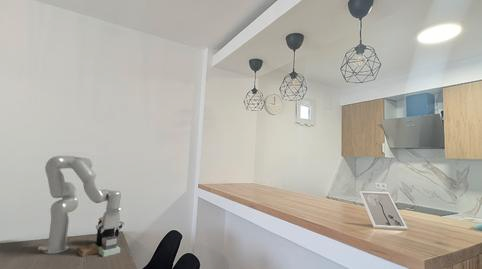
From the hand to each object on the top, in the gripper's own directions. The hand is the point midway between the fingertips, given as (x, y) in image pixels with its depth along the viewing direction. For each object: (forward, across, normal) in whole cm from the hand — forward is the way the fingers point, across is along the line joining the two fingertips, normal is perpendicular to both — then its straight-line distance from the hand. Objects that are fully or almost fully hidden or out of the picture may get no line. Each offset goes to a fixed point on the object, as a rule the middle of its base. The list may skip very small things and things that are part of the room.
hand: (108, 237), depth 163 cm
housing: (+6, -1, +1) cm, 6 cm away
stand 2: (+9, -1, +1) cm, 9 cm away
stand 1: (+10, +8, -7) cm, 14 cm away
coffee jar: (+10, -5, -15) cm, 19 cm away
